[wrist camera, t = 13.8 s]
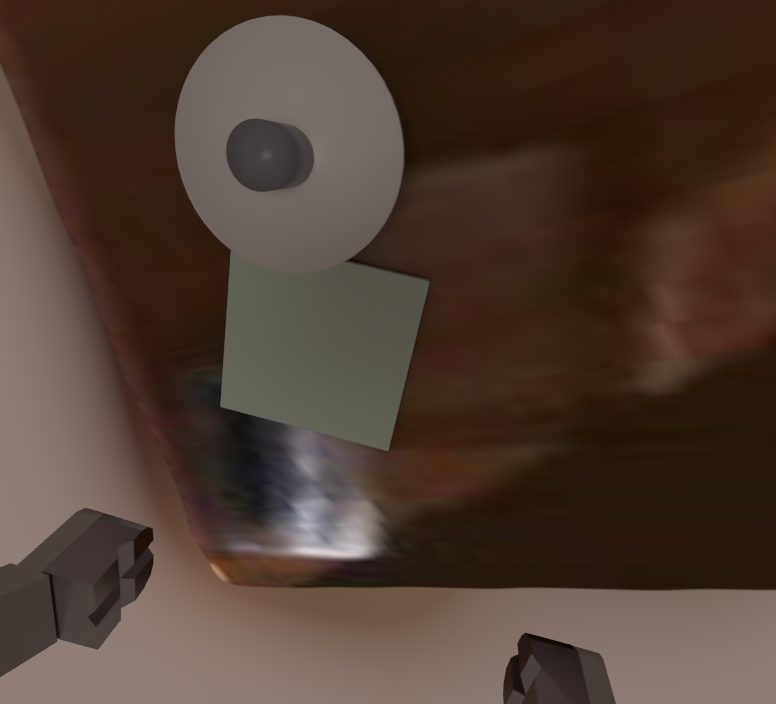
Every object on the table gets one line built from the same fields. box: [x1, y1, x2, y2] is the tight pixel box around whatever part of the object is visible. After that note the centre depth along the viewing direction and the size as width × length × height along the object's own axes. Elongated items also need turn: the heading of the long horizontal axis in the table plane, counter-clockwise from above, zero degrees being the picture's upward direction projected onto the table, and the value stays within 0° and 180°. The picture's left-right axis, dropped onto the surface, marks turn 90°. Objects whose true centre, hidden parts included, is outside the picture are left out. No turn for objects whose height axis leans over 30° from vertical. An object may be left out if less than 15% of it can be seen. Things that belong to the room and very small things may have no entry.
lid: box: [175, 15, 405, 273], centre depth 27 cm, size 14×14×5 cm
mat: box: [220, 250, 430, 451], centre depth 40 cm, size 16×16×1 cm
